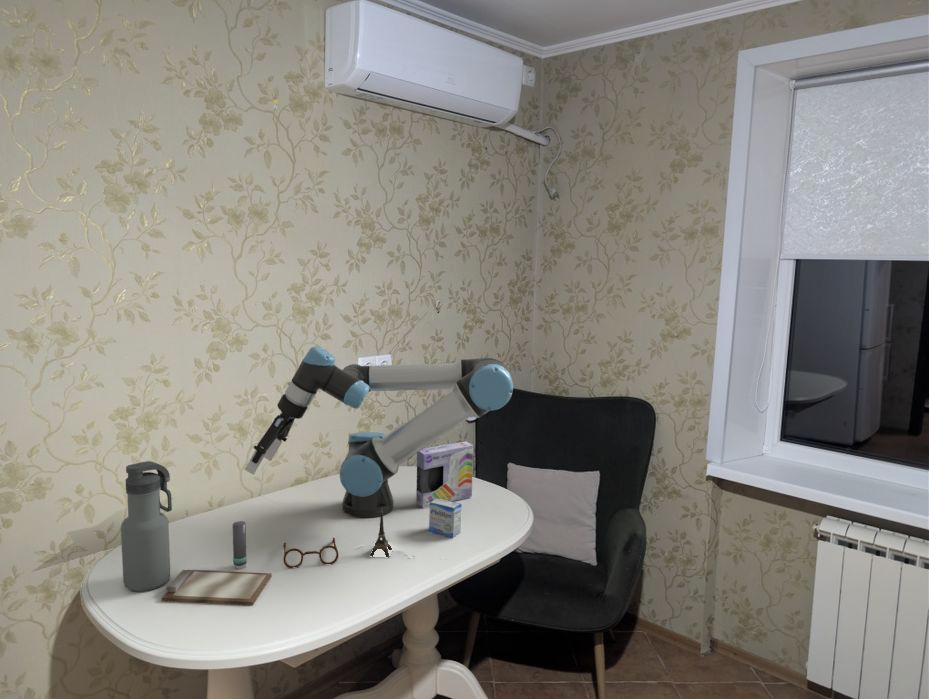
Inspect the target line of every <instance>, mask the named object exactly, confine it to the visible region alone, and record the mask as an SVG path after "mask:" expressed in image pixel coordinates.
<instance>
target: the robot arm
mask: <svg viewBox="0 0 929 699" xmlns="http://www.w3.org/2000/svg"><path fill="white" fill-rule="evenodd" d="M335 363H336V357H335V356H334V355H333V354H332V353H330V352H329V351H328V350H326V349H324V348H321V347H319V346H312V347H310V348H309V349H308V351H307V352H306V354H305V356H304V358H303V359H302V360H301V362H300V364H299V365H298V368H297V370H296V371H295V374H294V375H293V377H292V379H291V380H290V381H288V382H287V383H286V384H287V388H285V391H284V393H283V394H282V395H281V397H280V399H279V400H278V403H277V408H278V409H279V411H280V412H281V413H280V414H278V415H277V416H275V417H274V420H273V422H271V425H269V427H268V429H267V430H266V431H265V433H264V434H263V436H262V437H261V438H260V440H259V441H258V443H257V445H254V446H253V449H254V453H253V454H252V456H251V457H250V459H249V461H248V463H247V464H246V466H245V468H244V471H246V472H248V473H250V474H251V475H254V474H256V472H257V471H258V468H259V466H260V464H261V463H262V462H263V460H264V459H267V460H268V461H270V462H271V461H272V460H273V459H274V457H275V456H276V454H277V452H278V450H279V448H280V446H281V445H282V443H283V442H284V443H285V442H287V440H288V436H289V433H290V431H291V429H292V427H293V424H294V422H295V420H297V419H298V420H299V419H302V418H303V416H304V415H305V413H306V412H307V410H308V407H309V406H310V405H311V404H312V402H313V400H314V399H315V397H316V395H317V392H318V391H319V390H320V391H322V392H324V393H325V394H327V395H329V396H331V397H332V398H334V399H336V400H338V401H339V402H341V403H343V404H344V405H345V406H349V407H351V408H353V409H355V410H356V409H358V408H360V407H361V405H362V403H363V401H364V400H365V398H366V396H367V395H368V393H369V392H395V391H396V392H397V391H398V392H399V391H401V392H402V391H404V392H405V391H434V390H435V391H436V390H452V391H450V392H449V393H447V394H446V395H445V396H443V397H442V398H440V399H439V400H437V401H435V402H434V403H433V404H431V405H430V406H428V407H427V408H425V409H423V410H422V411H421V412H420V413H418V414H417V415H415V416H413V417H412V418H411V419H410V420H408V421H406V422H405V423H403V424H402V425H400V426H398V427H397V428H396V429H394V430H393V431H391V432H390V433H389V434H386V433H383V432H377V431H361V432H360V431H359V432H353V433H351V434H350V435H349V437H348V441H347V443H348V452H347V454H346V456H345V458H344V460H343V461H342V463H341V465H340V469H339V480H340V484H341V485H342V487H343V488H344V490H345V493H344V496H343V500H342V511H343V512H344V513H345V514H346V515H348V516H351V517H357V518H376V517H381V512H380V511H381V509H383V516H384V515H385V516H386V515H388V514H389V513H391V512H392V511H393V509H394V501H395V500H394V497H393V494H392V492H391V491H392V490H391V488H390V485H389V479H390V478H392V477H394V476H395V475H396V474H397V473H398V472H399V468H400V465H401V464H403V463H404V462H406V461H407V460H409V459H410V458H412V457H413V456H415V455H417V452H419V451H420V450H422V449H425V448H426V447H428V446H429V445H431V444H432V443H434V442H436V441H437V440H439V439H440V438H441V437H443V436H444V435H446V434H447V433H449V432H450V431H452V430H454V429H455V428H456V427H457V426H459V425H461V424H462V423H464V422H465V421H466V420H468V419H469V418H478V419H479V418H482V417H483V416H484V415H485V414H487V413H488V412H490V411H496V410H500V409H501V408H503V407H504V406H506V405H507V404H508V402H509V401H510V400H511V398H512V395H513V390H514V382H513V378H512V376H511V373H510V372H509V371H508V369H507V367H506V365H504V363H502V361H500V360H498V359H496V358H493V357H482V358H481V357H480V358H470V359H469V358H468V359H467V358H466V359H458V361H457V362H455V363H454V362H451V363H450V362H449V363H424V364H423V363H419V364H416V363H415V364H414V363H413V364H384V365H383V364H381V365H379V364H378V365H360V364H358V363H351V364H348V365H347V366H345V367H343V369H341V368H339V367H338V366H336V365H335Z"/></svg>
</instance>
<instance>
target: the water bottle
mask: <svg viewBox="0 0 929 699" xmlns="http://www.w3.org/2000/svg"><path fill="white" fill-rule="evenodd" d="M153 470H154V471H156V472H157V473H155V472H152V471H153ZM148 471H149V472H148ZM150 471H151V472H150ZM125 472H126V474H127V478H125V481H124V482H125V493H126V494H127V496H126V497H127V513H128V514H127V517H125V519H124V520H123V521H122V523H121V525H120V537H121V538H120V539H121V540H120V542H121V558H122V560H121V562H122V580H123V582H122V583H123V586H124V587H125V589H128V590H129V591H133V592H146V591H147V592H149V591H152V589H153V590H154V589H155V588H156V589H158V588H160V587H162V586H164V585H165V584H167V583H168V582H169V581H170V578H171V556H170V553H171V552H170V528H169V527H170V526H169V519H168V516H167V515H165V514H164V513H162V512H161V510H163V511H165V512H167V513H168V512H171V511H172V509H173V508H172V507H173V506H172V505H173V503H172V502H173V501H172V492H171V491H170V490H169V489H168V482H170V481H171V480H170V479H171V477H170V476H171V475H170V472H169V470H168V469H167V468H166V467H165V466H163V465H161V464H159V463H157V462H155V461H152V460H151V461H150V460H149V461H148V460H145V461H142V462H137V463H132V464H128V465H126V467H125ZM161 491H162V492H164V493H165V494H166V496H167V506H165V505H163V504H162V503H161V496H160V495H161V494H160V493H161Z"/></svg>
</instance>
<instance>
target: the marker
mask: <svg viewBox="0 0 929 699" xmlns="http://www.w3.org/2000/svg"><path fill="white" fill-rule="evenodd" d="M232 552H233V553H232V555H233V556H232V560H233V561H232V562H233V565H234V569H236V570H243V569H245V568H246V564H248V563H247V560H248V558H247V557H248V555H247V523H246V522H245V521H242V520H240V521H235V522H233V523H232Z"/></svg>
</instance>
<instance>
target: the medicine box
mask: <svg viewBox="0 0 929 699" xmlns="http://www.w3.org/2000/svg"><path fill="white" fill-rule="evenodd" d="M462 507H463V506H462V503H459V502H456V501H452V502H451V501H447V500H442V499H438V498H437V499H435V500H433V501H432V502H431V503H430V507H429V514H428V515H429V516H428V518H429V519H428V532H429V533H432V534H434V535H435V534H436V535H439V534H440V536H443V535H444V537H447V536H448V537H447V538H451V537H452V539H454V538H455V537H457V536H458V535H459V534H460V533H461V531H462V530H461V529H462V528H461V527H462V526H461V525H462ZM456 535H457V536H456ZM453 537H454V538H453Z"/></svg>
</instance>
